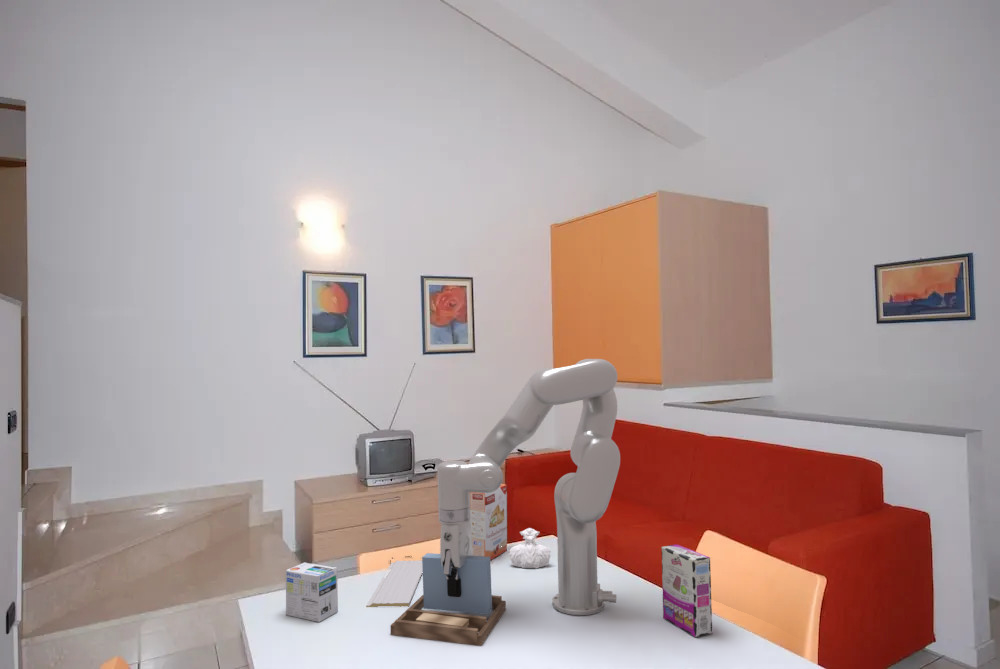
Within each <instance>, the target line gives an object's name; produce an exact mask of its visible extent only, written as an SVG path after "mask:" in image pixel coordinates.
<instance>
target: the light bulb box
mask: <svg viewBox="0 0 1000 669" xmlns="http://www.w3.org/2000/svg"><path fill="white" fill-rule="evenodd" d="M338 597H339V593H338V567H336V566H329V565H323V564H321V565H320V564H316V563H310V562H302V563H300V564H298V565H295V566H293V567H290V568H288V569H286V570H285V615H286V616H289V617H290V616H291V617H295V618H299V619H303V620H308V621H313V622H317V623H321V622H322V621H323V620H326V619H327V618H330V617H331V616H332V615H334V614H336V613H338V612H339V598H338Z"/></svg>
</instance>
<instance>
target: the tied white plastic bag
mask: <svg viewBox="0 0 1000 669" xmlns="http://www.w3.org/2000/svg"><path fill="white" fill-rule="evenodd" d="M519 534H520V535H521V537H522V536H523V537H522V540H524V542H523V543H519V544H516V545H515V546H512V547H511V548H510V549H509V552H508V553H509V558H510V561H511V564H512V565H513V566H515V567H518V568H522V569H539V568H542V567H546V566H547V565H548V564H549V562H550V558H551V549H550V548H549V547H548V546H544V545H543V544H542V543H541V544H540V543H537V542H536V541H535V540H537V539H538V536H539V535H540V531H538V530H535V529H534V528H532V527H528V528H526V529H524V530H522V531H519Z"/></svg>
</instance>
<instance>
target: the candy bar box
mask: <svg viewBox="0 0 1000 669" xmlns="http://www.w3.org/2000/svg"><path fill="white" fill-rule="evenodd" d="M660 548H661V574H662V575H661V580H662V582H661V583H662V615H663V616H662V618H663V619H664V620H666V621H667V622H668V623H670V624H672V625H673V626H676V627H678V628H679V629H681V630H683V631H684V632H685V633H687V634H690V635H691V636H693V637H694V638H700V637H703V636H707V635H708V636H709V635H712V634H713V613H712V612H713V610H712V609H713V608H712V583H711V582H712V581H711V580H712V579H711V578H712V576H711V574H712V573H711V557H710V556H707V555H705V554H703V553H701V552H697V551H695V550H693V549H690V548H688V547H684V546H682V545H680V544H671V545H664V546H661V547H660Z"/></svg>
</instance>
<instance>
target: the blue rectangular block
mask: <svg viewBox="0 0 1000 669" xmlns="http://www.w3.org/2000/svg"><path fill="white" fill-rule="evenodd" d="M421 561H422V568H423V573H422V589H423V590H422V595H423V597H424V607H423V610H433V611H434V610H435V611H446V612H447V611H448V612H459V613H471V614H472V613H473V614H480V615H481V614H482V615H483V614H484V615H489V613H490V612H491V611H493V610H492V595H493V594H492V570H491V569H492V568H491V560H490V557H485V556H469V557H468V558H467V559H466V560H465V564H464V565H463V566H462V567H461V568H459V579H461V596H460V597H451V596H448V592H447V579H446V575H445V574H444V567H443V566H442V565H441V556H440V553H432V552H431V553H430V552H427V553H426V554H424V555H423V556H422V557H421ZM451 565H454V564H453V563H452V564H451ZM451 570H454V571H455V569H451Z"/></svg>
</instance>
